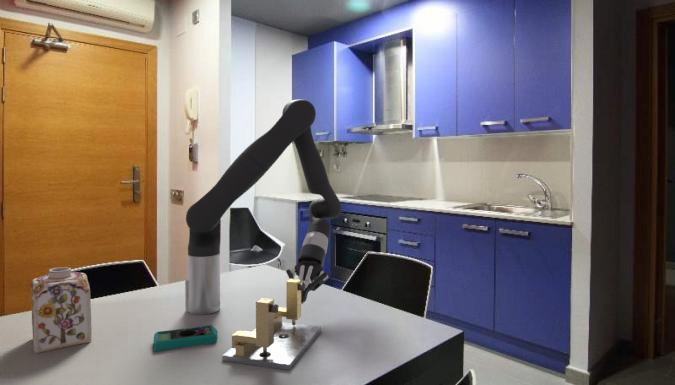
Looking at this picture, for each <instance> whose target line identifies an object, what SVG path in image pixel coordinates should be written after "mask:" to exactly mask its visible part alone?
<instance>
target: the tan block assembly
mask: <svg viewBox="0 0 675 385" xmlns="http://www.w3.org/2000/svg"><path fill="white" fill-rule="evenodd" d="M279 307H280V306H279V304H275V299H274V298H265V297H261V298H260V299H258V300H257V301H256V302H255V329H253V330H254V331H253V330H252V331H253V332H252V331H247V330H237V331H236V332H234V333H233V334H231V348H235V351H236V356H238V357H245V356H246V355H247V354H248V353H249V352H250V351H251V350H252V349H253V348H255V347H256V346H258V347H263V355H267V348H269V347H270V346H271V345H272V344H273V343H274V330H275V329H276V328H277V327H278V326H279V325H280V324H281V323H282V322H283V317H282V316H274V313H277V312H278V309H279Z"/></svg>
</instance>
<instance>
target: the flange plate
mask: <svg viewBox="0 0 675 385" xmlns="http://www.w3.org/2000/svg"><path fill="white" fill-rule="evenodd" d="M254 330H255V329H253V330H252V331H251V332H253V331H254ZM321 331H322V326H318V325H311V324H310V325H309V324H301V323H296V325H292V322H283V321H282V323H281V324H280V325H279V326H278V327H277V328H276V329H275V330H274V343H273V344H272V345H271V346H270V347H269V348H267V355H263V347H258V346H256V347H255V348H253V349H252V350H251V351H250V352H249V353H248V354H247V355H246V356H245V357H238V356H236V351H235V348H232V347H231V348H229V349H228V350H227V351H226V352H224V354H222V358H221V359H222V362H229V363H236V364H244V365H248V366H249V365H251V366H257V367H263V368H271V369H280V370H287V371H290V370H291V368H292V367H293V366H294V365H295V364H296V362H298V360H299V358H301V356H303V354H304V353H305V352H306V350H307V349H308V348H309V346H310V345H311V344H312V343H313V342H314V340H315V339H316V338H317V336H319V334H320V333H321Z"/></svg>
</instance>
